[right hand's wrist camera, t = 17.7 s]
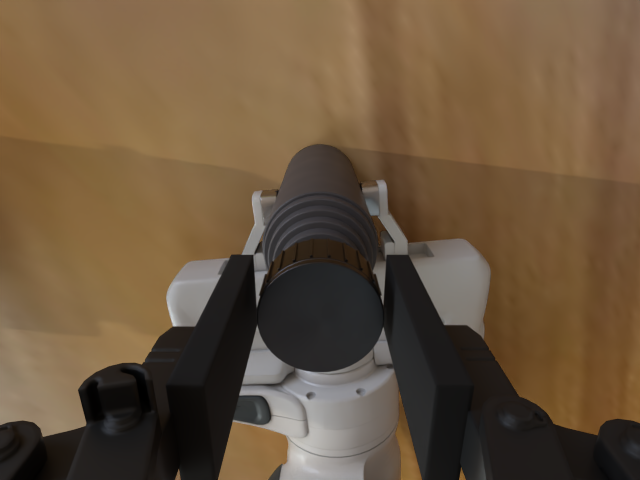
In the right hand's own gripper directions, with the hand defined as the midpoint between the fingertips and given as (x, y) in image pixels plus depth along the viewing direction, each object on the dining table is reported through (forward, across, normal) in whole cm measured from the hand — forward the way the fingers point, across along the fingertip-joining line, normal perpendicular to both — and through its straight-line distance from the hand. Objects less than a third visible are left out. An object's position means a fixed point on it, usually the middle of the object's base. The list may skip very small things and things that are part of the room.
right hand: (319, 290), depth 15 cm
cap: (-2, 0, 0) cm, 2 cm away
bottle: (+18, 0, 0) cm, 18 cm away
